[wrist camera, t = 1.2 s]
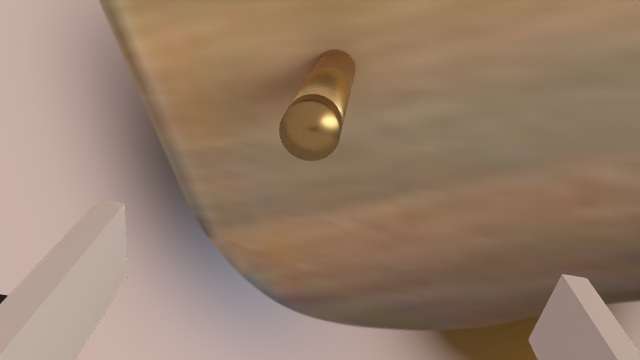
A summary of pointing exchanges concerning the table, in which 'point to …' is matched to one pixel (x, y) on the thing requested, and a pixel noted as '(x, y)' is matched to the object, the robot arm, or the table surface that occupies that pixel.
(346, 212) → the table surface
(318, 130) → the pin
